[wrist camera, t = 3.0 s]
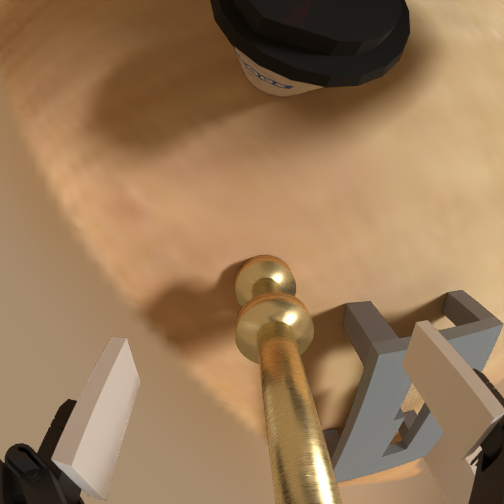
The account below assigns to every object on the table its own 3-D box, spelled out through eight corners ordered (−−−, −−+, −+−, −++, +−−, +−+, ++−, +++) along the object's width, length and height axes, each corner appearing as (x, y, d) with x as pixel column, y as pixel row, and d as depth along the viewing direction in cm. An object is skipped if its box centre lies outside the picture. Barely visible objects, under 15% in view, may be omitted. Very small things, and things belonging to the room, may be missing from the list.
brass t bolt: (234, 255, 18) (236, 504, 4) (294, 254, 19) (398, 475, 5) (236, 307, 20) (242, 535, 6) (291, 305, 20) (357, 518, 6)
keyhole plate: (346, 303, 20) (379, 354, 15) (462, 290, 21) (503, 323, 15) (315, 440, 26) (326, 484, 21) (408, 419, 27) (427, 455, 21)
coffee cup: (311, 7, 13) (370, -83, 4) (352, 100, 15) (458, 68, 6) (205, 33, 14) (177, -66, 4) (245, 131, 16) (257, 106, 6)
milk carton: (414, 441, 30) (459, 539, 12) (436, 411, 27) (495, 517, 9) (448, 429, 30) (495, 515, 12) (470, 399, 28) (529, 489, 10)
